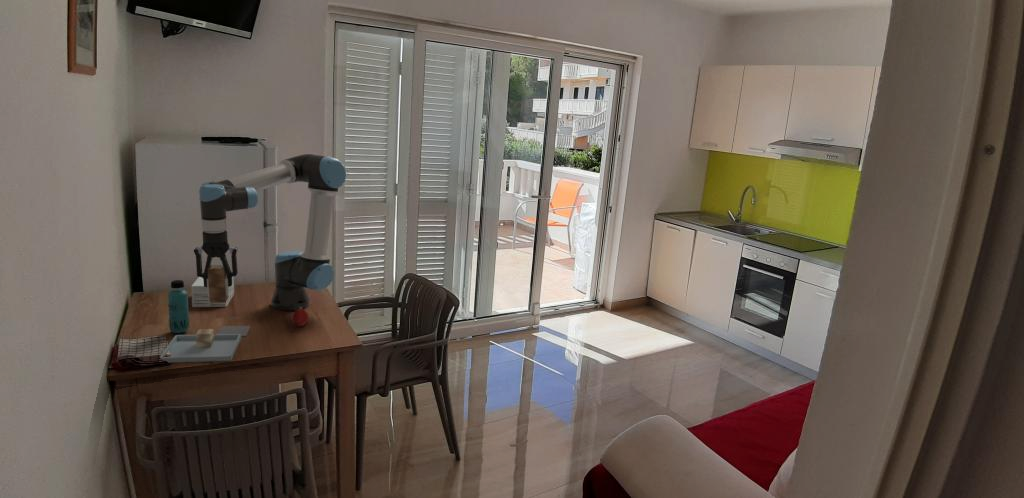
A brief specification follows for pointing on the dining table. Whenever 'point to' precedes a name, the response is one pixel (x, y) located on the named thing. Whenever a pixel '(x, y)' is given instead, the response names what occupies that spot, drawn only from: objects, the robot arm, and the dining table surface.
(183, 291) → the beverage bottle
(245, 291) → the dining table surface
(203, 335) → the birch block
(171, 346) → the bin
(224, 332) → the slate coaster
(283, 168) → the robot arm
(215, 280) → the walnut box
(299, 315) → the onion
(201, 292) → the supplement box
